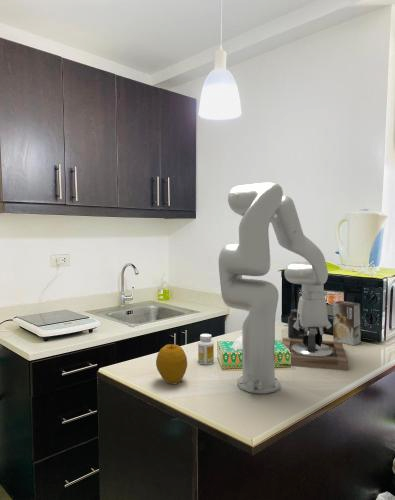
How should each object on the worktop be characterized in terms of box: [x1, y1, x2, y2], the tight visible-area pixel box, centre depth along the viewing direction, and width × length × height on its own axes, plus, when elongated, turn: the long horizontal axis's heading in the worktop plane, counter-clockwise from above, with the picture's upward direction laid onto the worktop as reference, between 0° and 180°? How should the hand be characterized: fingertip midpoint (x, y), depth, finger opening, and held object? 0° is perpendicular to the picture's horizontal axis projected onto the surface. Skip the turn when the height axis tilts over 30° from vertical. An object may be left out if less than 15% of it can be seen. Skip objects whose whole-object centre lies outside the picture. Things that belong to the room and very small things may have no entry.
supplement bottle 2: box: [287, 308, 303, 339], centre depth 161 cm, size 7×7×12 cm
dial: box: [292, 327, 333, 357], centre depth 138 cm, size 14×14×8 cm
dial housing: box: [281, 337, 349, 371], centre depth 139 cm, size 22×22×3 cm
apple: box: [155, 343, 188, 384], centre depth 117 cm, size 10×10×12 cm
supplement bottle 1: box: [197, 333, 215, 366], centre depth 134 cm, size 5×5×10 cm
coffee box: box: [332, 300, 362, 346], centre depth 156 cm, size 9×6×16 cm
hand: (312, 344), depth 139 cm, fingers closed on dial, 4 cm apart
